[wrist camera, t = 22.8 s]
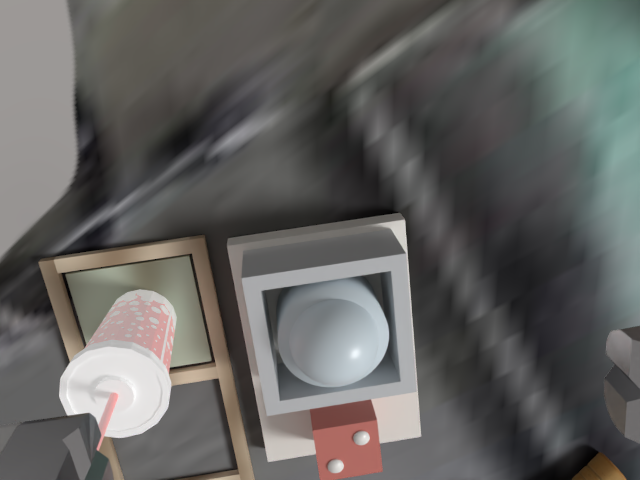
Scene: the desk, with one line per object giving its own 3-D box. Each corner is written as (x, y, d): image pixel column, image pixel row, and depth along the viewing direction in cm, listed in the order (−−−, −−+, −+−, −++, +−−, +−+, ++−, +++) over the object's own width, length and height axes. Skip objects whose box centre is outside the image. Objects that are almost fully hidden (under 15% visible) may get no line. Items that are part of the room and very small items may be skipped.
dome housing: (399, 212, 42) (422, 243, 36) (416, 424, 48) (437, 478, 43) (227, 238, 41) (223, 273, 36) (267, 448, 48) (269, 506, 42)
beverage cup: (81, 300, 41) (0, 431, 28) (162, 265, 41) (117, 382, 28) (126, 368, 44) (69, 520, 31) (202, 336, 43) (178, 475, 30)
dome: (372, 256, 40) (394, 301, 34) (381, 346, 43) (402, 403, 36) (269, 271, 40) (270, 320, 34) (284, 361, 42) (288, 422, 36)
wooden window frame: (204, 234, 41) (203, 237, 40) (272, 567, 52) (272, 573, 51) (41, 258, 40) (38, 262, 40) (145, 589, 51) (143, 595, 51)
